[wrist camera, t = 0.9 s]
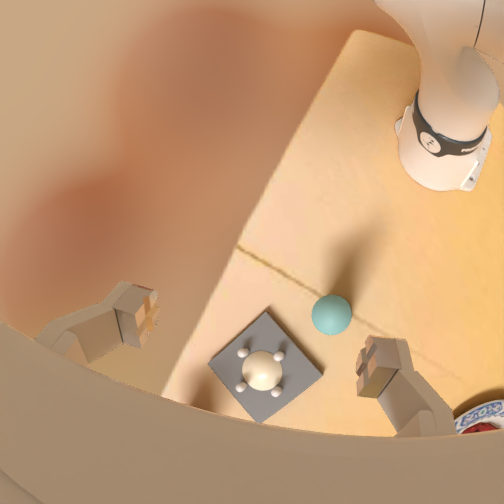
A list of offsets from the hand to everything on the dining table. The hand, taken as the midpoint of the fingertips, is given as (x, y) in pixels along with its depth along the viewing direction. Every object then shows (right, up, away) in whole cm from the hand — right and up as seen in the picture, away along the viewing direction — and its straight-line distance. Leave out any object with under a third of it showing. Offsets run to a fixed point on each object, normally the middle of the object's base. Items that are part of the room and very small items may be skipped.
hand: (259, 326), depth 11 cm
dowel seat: (+2, -17, +37) cm, 41 cm away
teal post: (+13, -7, +35) cm, 38 cm away
